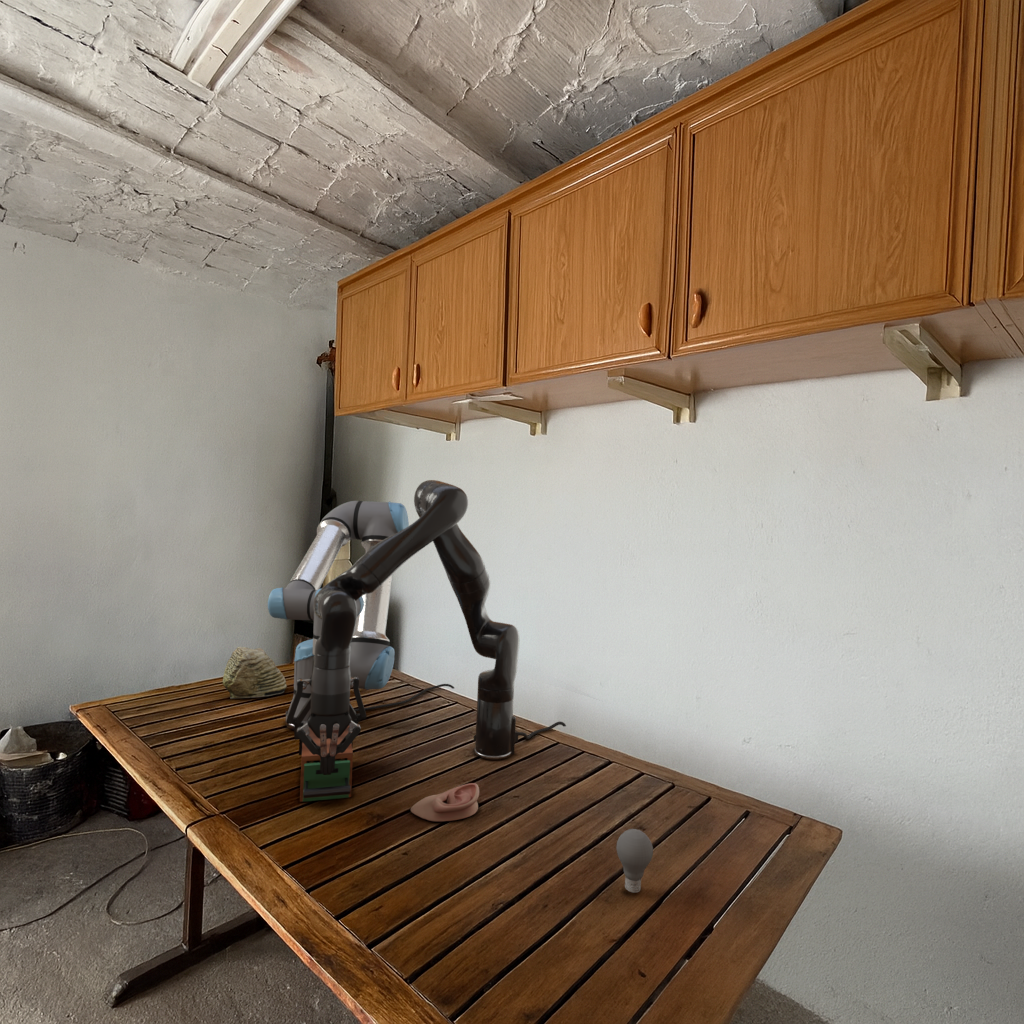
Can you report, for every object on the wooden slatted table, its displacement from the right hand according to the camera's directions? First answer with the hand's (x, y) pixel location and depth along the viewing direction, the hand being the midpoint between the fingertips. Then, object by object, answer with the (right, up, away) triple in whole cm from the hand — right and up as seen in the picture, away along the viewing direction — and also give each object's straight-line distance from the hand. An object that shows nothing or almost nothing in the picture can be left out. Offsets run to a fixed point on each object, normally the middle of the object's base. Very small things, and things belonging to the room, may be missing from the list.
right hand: (327, 773), depth 127 cm
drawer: (-3, -7, +9) cm, 11 cm away
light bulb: (+57, -11, -22) cm, 62 cm away
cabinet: (-5, -7, +14) cm, 17 cm away
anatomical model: (+23, -9, +3) cm, 25 cm away
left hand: (-6, -3, +19) cm, 20 cm away
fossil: (-43, -5, +71) cm, 83 cm away
